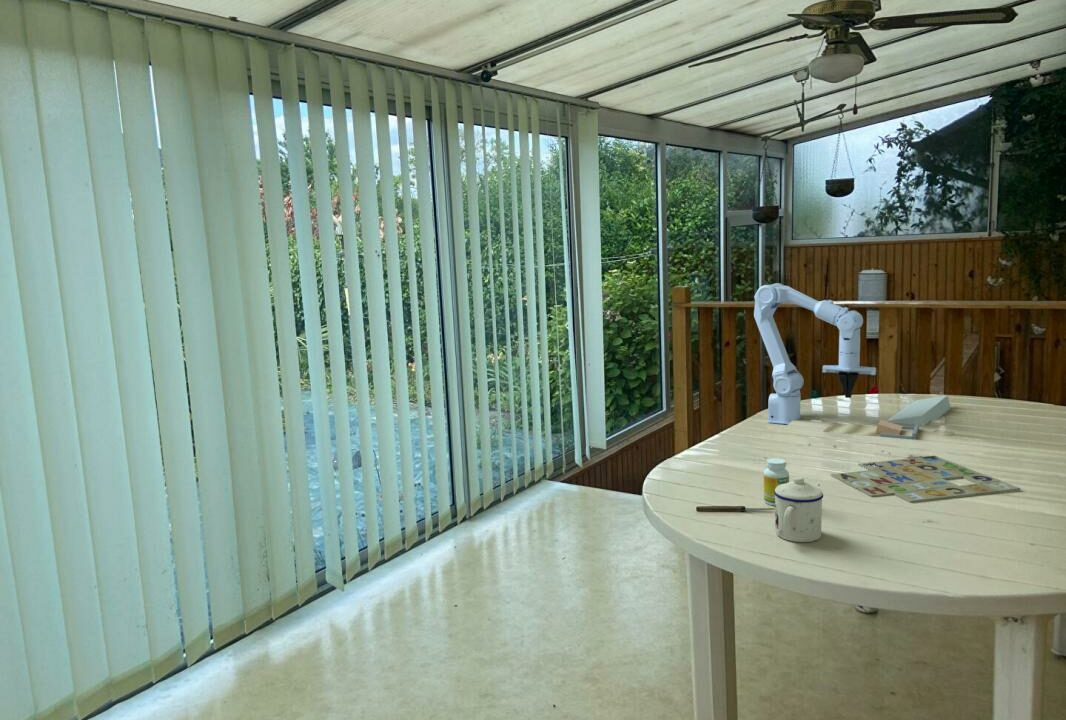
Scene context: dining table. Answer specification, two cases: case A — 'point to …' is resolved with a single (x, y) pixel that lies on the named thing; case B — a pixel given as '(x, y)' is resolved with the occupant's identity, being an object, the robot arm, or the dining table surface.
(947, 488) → the alphabet tiles
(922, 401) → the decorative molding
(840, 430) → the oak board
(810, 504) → the teacup with lid
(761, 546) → the dining table surface
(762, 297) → the robot arm
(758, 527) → the dining table surface
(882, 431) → the tile
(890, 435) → the tray
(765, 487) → the supplement bottle
